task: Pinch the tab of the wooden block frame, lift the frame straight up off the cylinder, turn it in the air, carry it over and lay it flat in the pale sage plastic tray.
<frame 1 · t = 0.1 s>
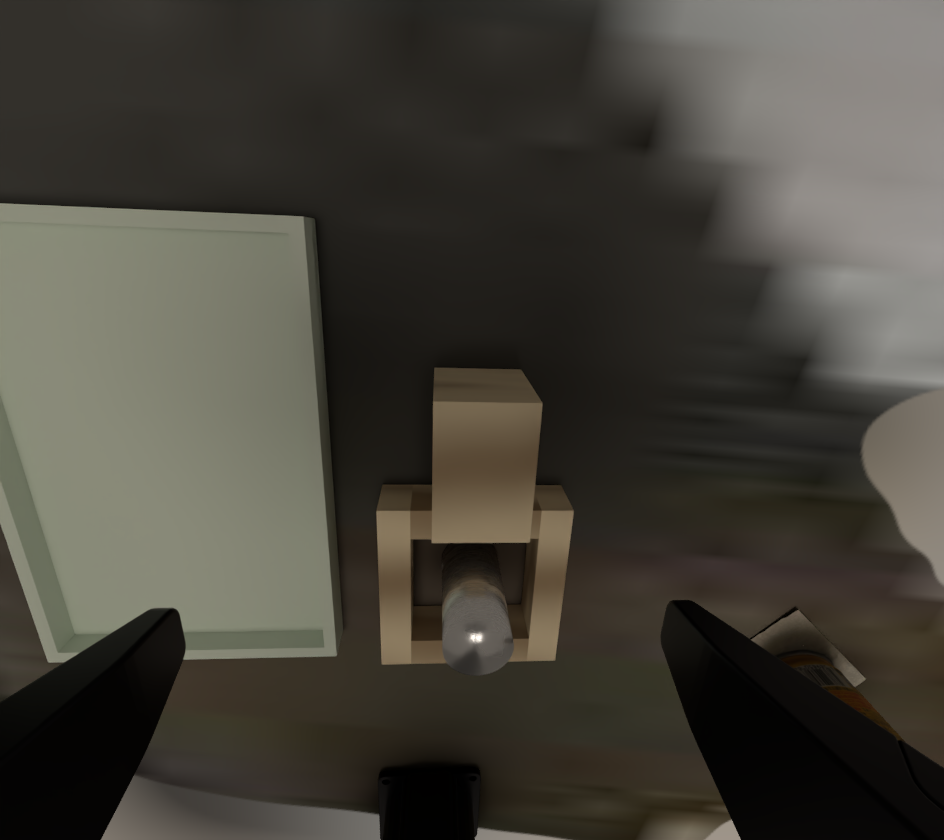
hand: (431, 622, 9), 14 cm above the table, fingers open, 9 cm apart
condiment: (778, 673, 31), on the table
tray: (177, 455, 23), on the table
wooden block frame: (469, 559, 26), on the table
cylinder: (469, 559, 26), on the table
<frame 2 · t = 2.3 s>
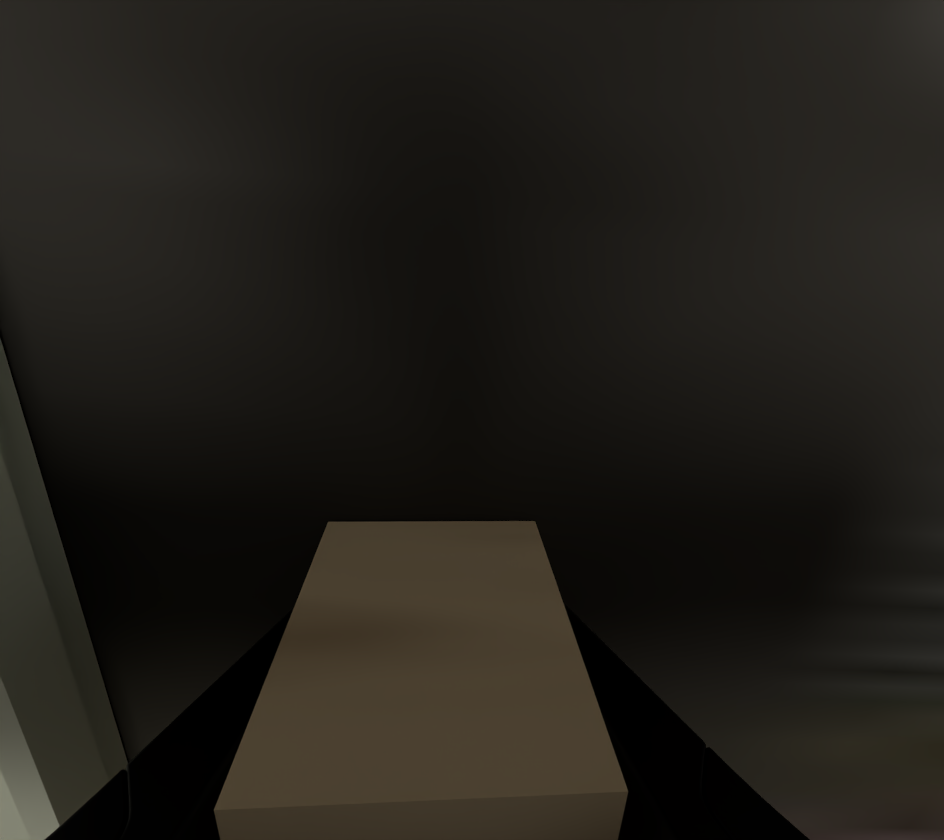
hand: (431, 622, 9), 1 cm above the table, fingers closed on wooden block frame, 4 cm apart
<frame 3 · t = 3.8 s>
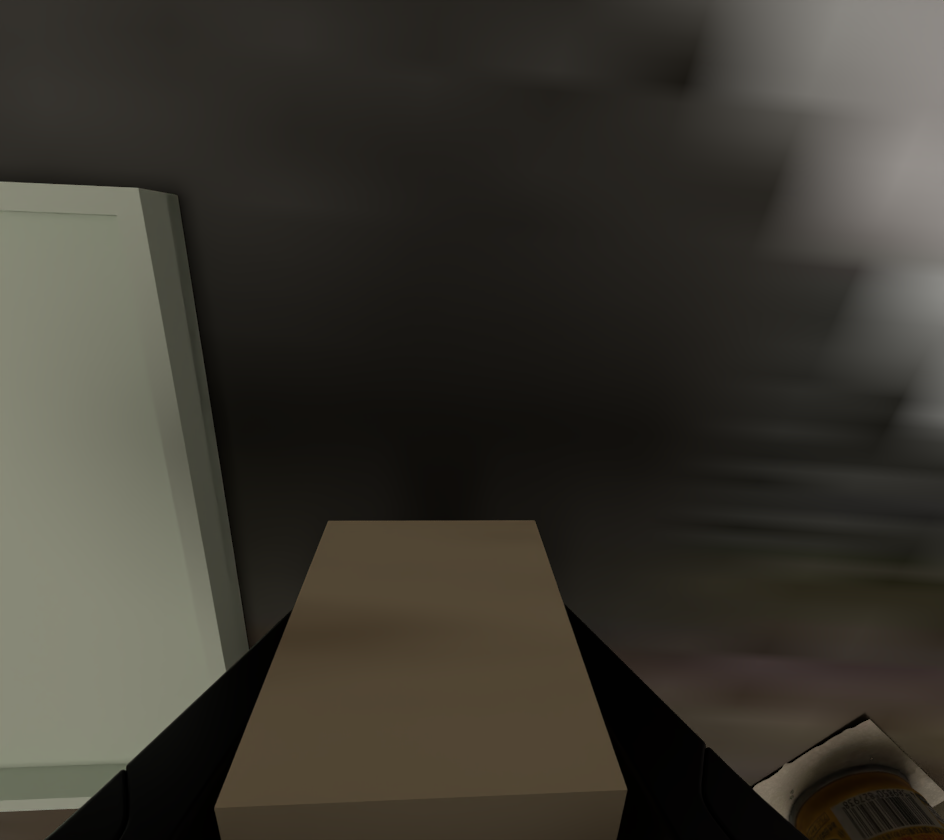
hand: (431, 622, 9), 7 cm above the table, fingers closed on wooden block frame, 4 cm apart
condiment: (837, 790, 24), on the table
tray: (9, 537, 16), on the table
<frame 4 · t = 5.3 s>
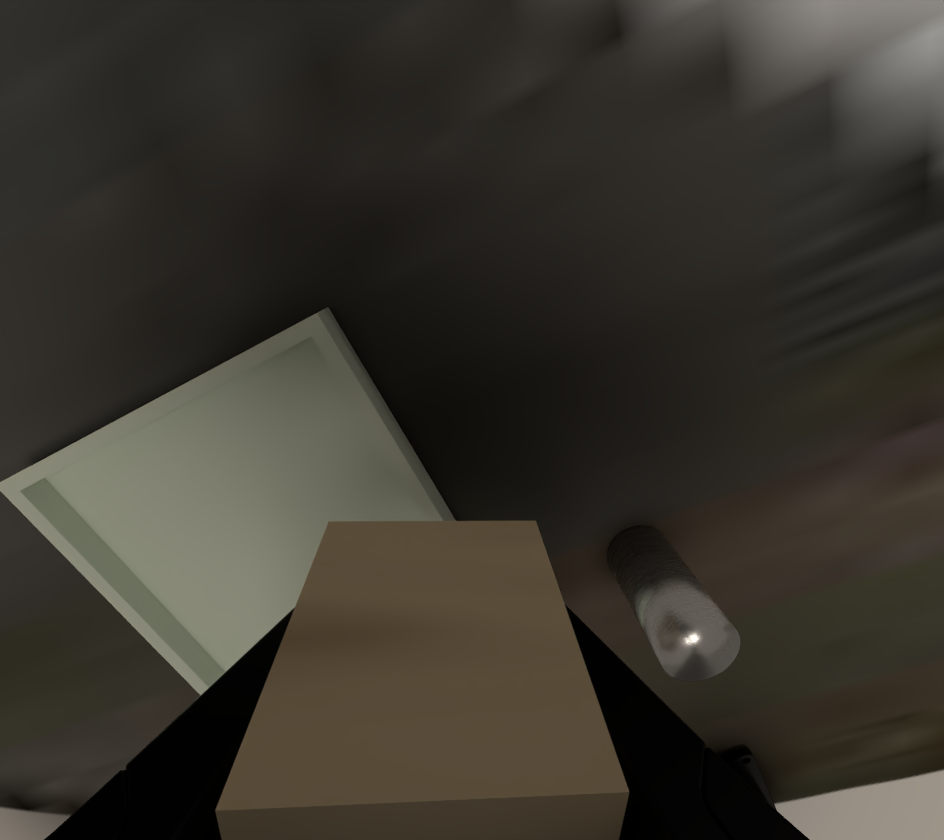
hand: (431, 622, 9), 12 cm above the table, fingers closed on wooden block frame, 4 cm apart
tray: (320, 580, 23), on the table
cylinder: (637, 552, 23), on the table
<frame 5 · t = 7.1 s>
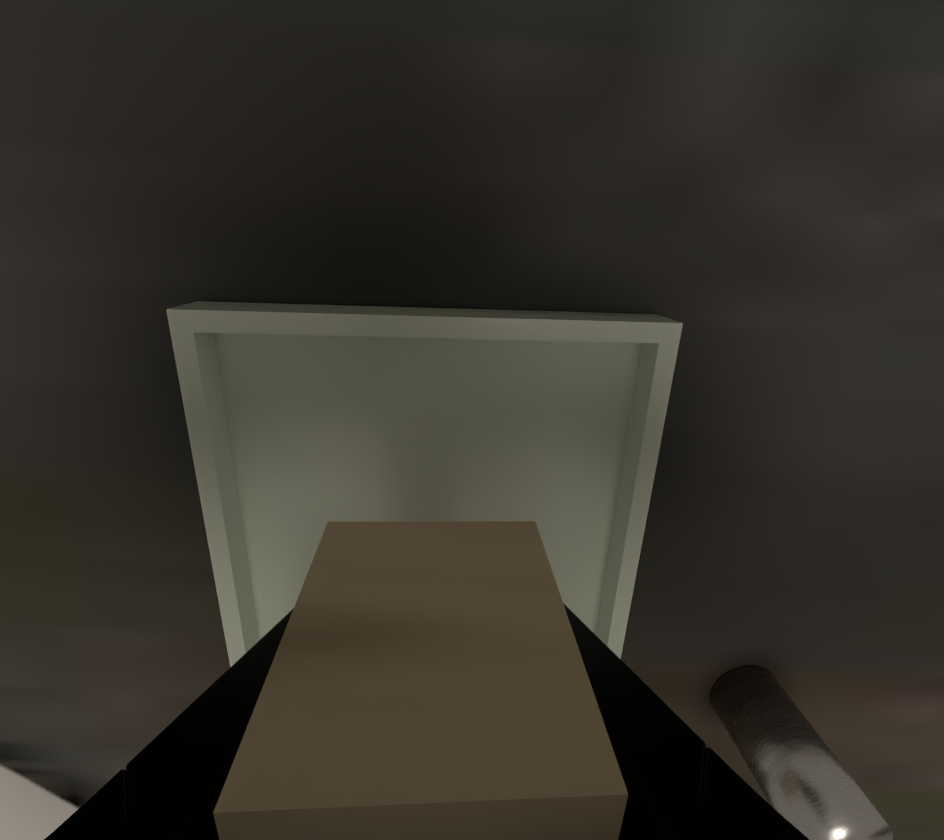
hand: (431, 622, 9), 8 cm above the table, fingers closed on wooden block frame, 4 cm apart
tray: (432, 586, 19), on the table
cylinder: (742, 691, 22), on the table
when the fingers open (2 cm above the table, at t = 8.6 s): wooden block frame stays where it is, resting on tray.
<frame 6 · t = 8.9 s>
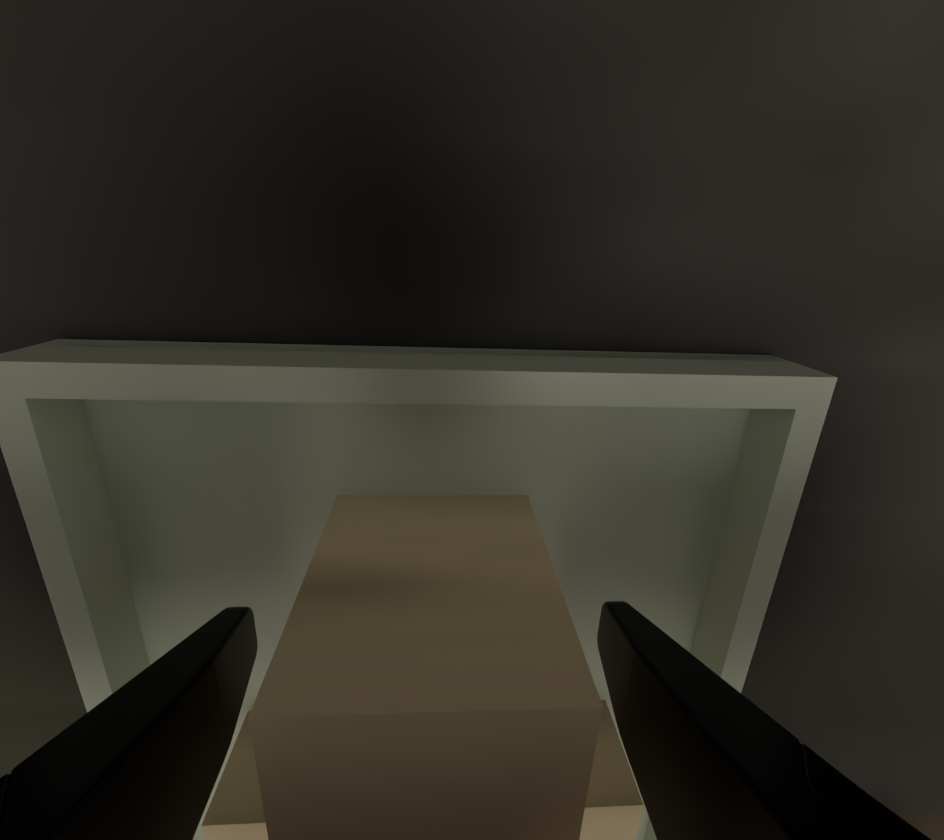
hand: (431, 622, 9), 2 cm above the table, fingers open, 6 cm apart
tray: (430, 728, 13), on the table
wooden block frame: (430, 821, 14), point 1 cm above the table, touching tray
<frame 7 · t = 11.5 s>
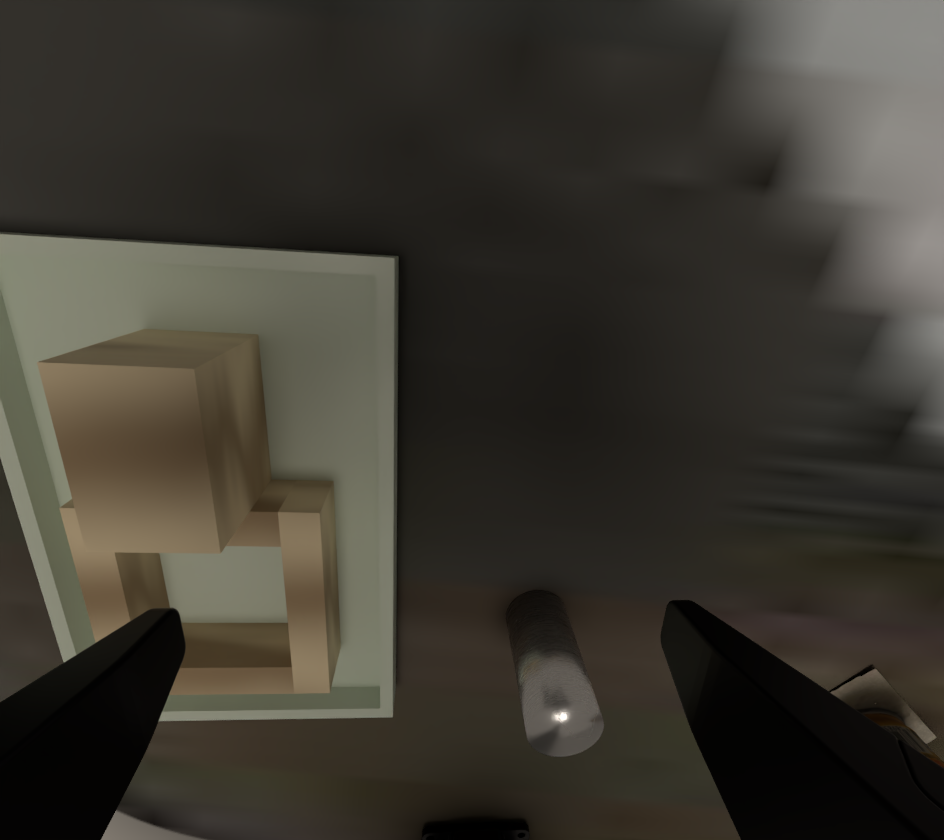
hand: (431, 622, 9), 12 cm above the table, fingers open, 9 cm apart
condiment: (845, 730, 29), on the table
tray: (231, 504, 21), on the table
wooden block frame: (233, 569, 21), point 1 cm above the table, touching tray
cylinder: (535, 615, 24), on the table
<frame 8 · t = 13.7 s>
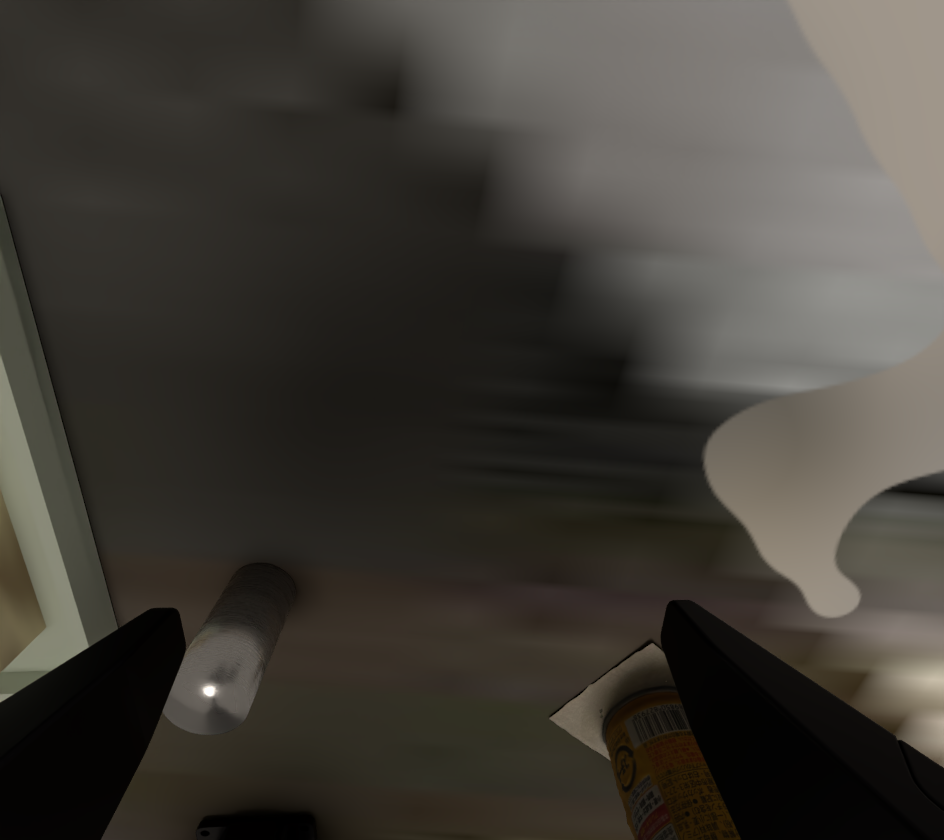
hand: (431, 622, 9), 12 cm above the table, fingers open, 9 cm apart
condiment: (644, 711, 27), on the table
cylinder: (262, 590, 23), on the table
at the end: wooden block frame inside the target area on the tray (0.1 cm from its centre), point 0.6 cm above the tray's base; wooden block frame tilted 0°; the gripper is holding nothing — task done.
